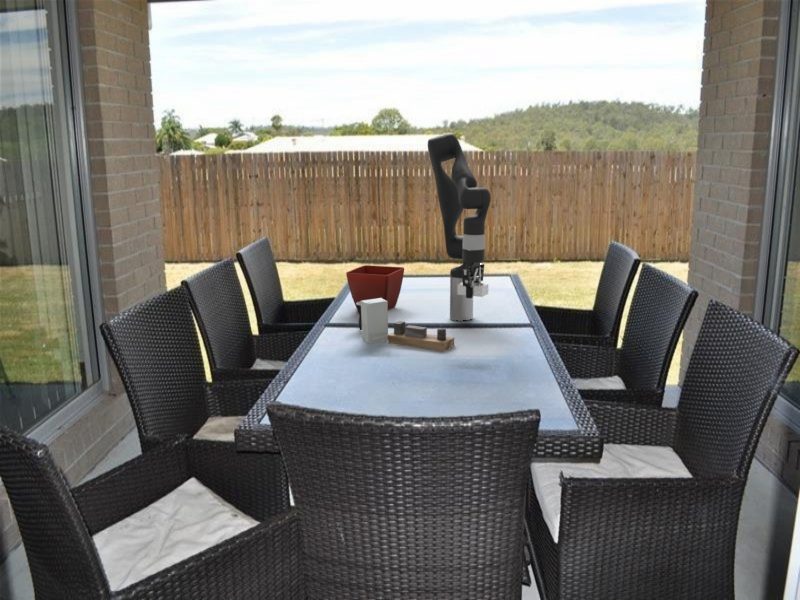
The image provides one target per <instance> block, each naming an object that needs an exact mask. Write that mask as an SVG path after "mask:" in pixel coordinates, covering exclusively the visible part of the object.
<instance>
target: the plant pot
mask: <svg viewBox="0 0 800 600" xmlns="http://www.w3.org/2000/svg"><path fill="white" fill-rule="evenodd" d="M404 273H405V267H404V266H402V267H401V266H387V265H369V264H368V265H367V264H366V265H365V264H364V265H361V266H359V267H355V268H354V269H352V270H349V271H346V272H345V275H346V279H347V283H348V288H349V290H350V294H351V298H352V300H353V303H354V306H355V308H356V309H357V306H356V303H357V302H361V301H363V300H370V299H376V298H382V299H384V300H386V301H388V311H391V309H394V308H395V307H396V306H397V304H398V299H399V297H400V294H401V290H402V284H403V279H404Z"/></svg>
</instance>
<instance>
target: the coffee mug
mask: <svg viewBox="0 0 800 600" xmlns="http://www.w3.org/2000/svg"><path fill="white" fill-rule="evenodd" d="M356 306H357V308H356V311H357V319H358V327H359V331H361V330H362V318H361V302H357V303H356ZM356 306H355V307H356Z"/></svg>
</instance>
